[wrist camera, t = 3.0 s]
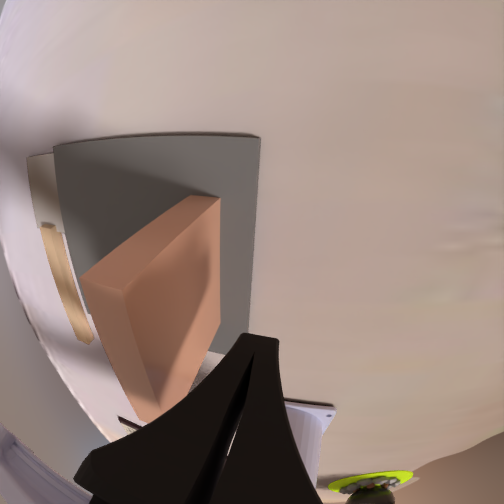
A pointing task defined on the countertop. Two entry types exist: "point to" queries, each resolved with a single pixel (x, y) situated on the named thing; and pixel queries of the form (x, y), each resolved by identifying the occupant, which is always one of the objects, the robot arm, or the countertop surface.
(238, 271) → the mat
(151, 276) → the tile
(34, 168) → the turner
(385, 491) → the toy cauldron
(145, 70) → the countertop surface
